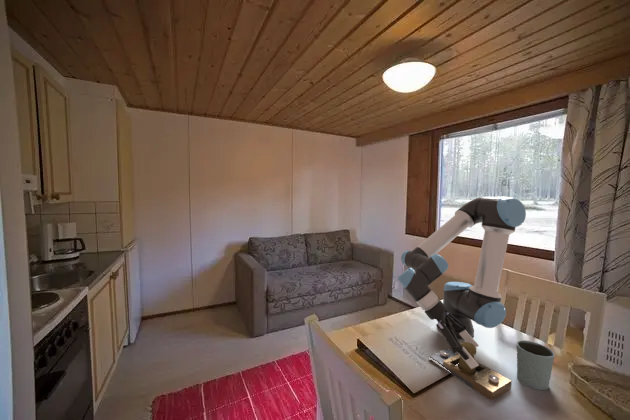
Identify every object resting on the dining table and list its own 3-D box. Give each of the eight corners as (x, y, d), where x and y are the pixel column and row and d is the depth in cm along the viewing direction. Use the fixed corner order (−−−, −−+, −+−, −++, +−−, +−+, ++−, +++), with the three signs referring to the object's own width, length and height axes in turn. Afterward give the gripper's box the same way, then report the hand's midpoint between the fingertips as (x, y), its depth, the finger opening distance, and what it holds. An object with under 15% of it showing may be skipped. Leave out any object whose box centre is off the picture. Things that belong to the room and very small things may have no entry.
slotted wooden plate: (428, 359, 103) (429, 349, 102) (447, 351, 108) (447, 342, 108) (492, 401, 82) (492, 388, 82) (510, 389, 88) (511, 377, 87)
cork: (469, 381, 91) (471, 350, 90) (453, 370, 96) (454, 341, 96) (479, 375, 94) (481, 346, 93) (463, 366, 99) (465, 337, 99)
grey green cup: (510, 378, 93) (512, 346, 92) (519, 367, 99) (521, 336, 98) (548, 396, 85) (550, 360, 84) (555, 383, 91) (557, 349, 90)
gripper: (428, 299, 113) (467, 344, 106) (417, 323, 91) (464, 381, 84) (443, 290, 109) (483, 335, 102) (434, 312, 88) (485, 371, 81)
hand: (475, 356), depth 93 cm, fingers open, 13 cm apart
